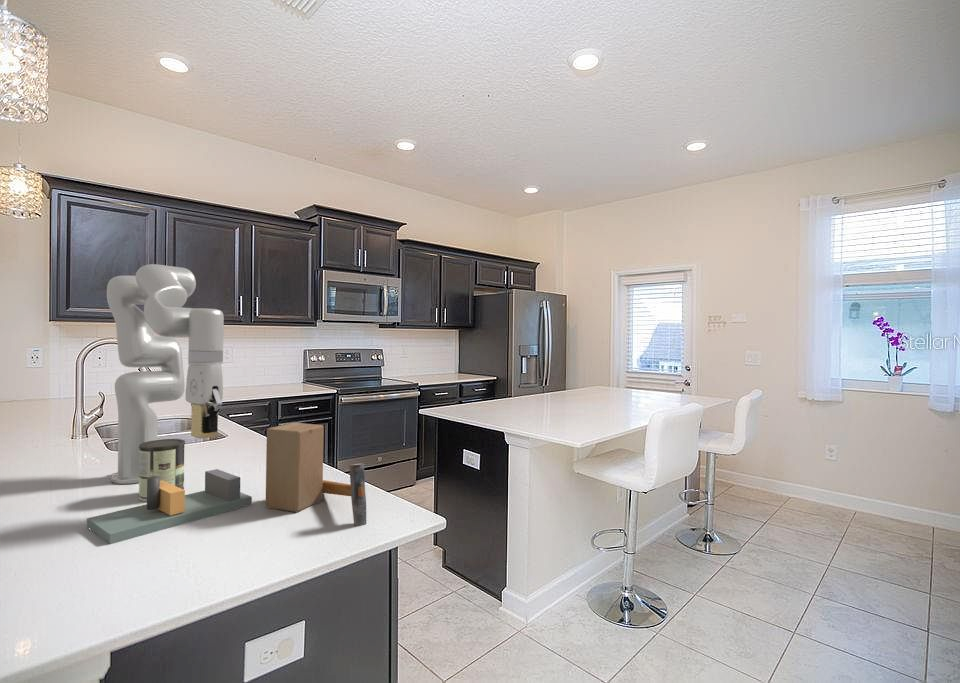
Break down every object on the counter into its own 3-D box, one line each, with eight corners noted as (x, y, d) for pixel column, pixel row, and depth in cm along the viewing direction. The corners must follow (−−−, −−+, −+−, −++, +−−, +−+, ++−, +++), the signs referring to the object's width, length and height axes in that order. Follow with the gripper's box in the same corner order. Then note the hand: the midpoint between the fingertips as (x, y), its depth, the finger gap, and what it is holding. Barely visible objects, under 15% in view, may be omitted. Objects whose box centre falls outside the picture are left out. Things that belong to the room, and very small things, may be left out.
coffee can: (168, 487, 135) (169, 437, 135) (192, 492, 131) (193, 441, 131) (129, 497, 126) (130, 444, 126) (153, 504, 121) (154, 448, 121)
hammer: (312, 463, 135) (354, 465, 111) (321, 462, 136) (364, 463, 113) (315, 514, 132) (358, 526, 109) (324, 512, 134) (368, 524, 111)
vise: (86, 527, 106) (87, 494, 106) (224, 493, 131) (224, 466, 131) (110, 544, 98) (110, 508, 98) (251, 504, 123) (252, 475, 123)
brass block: (191, 435, 120) (191, 403, 120) (207, 433, 123) (208, 402, 123) (200, 438, 117) (201, 405, 117) (217, 436, 120) (218, 404, 120)
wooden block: (323, 500, 127) (324, 424, 127) (297, 513, 117) (298, 431, 117) (292, 495, 130) (293, 422, 130) (264, 507, 121) (265, 428, 121)
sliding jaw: (136, 506, 113) (137, 474, 113) (162, 500, 118) (162, 469, 118) (158, 518, 106) (158, 484, 106) (184, 511, 111) (185, 478, 111)
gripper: (174, 357, 122) (173, 428, 122) (206, 360, 112) (205, 438, 112) (205, 356, 128) (204, 424, 128) (238, 359, 118) (237, 433, 118)
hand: (204, 430), depth 120 cm, fingers closed on brass block, 5 cm apart
